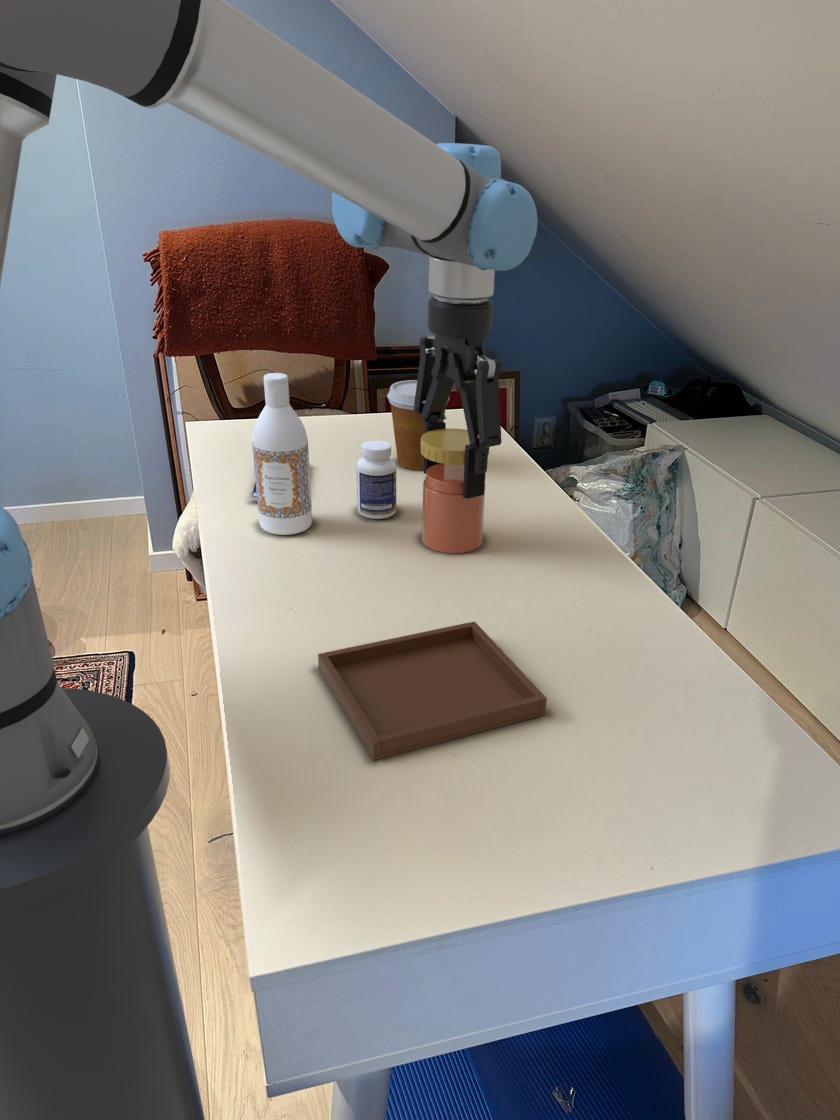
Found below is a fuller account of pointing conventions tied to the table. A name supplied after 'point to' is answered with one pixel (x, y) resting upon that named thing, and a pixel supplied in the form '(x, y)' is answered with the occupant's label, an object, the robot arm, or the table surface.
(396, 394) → the disposable coffee cup
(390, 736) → the tray
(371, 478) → the pill bottle
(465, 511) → the jar
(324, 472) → the table surface
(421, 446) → the lid
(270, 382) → the bath foam
